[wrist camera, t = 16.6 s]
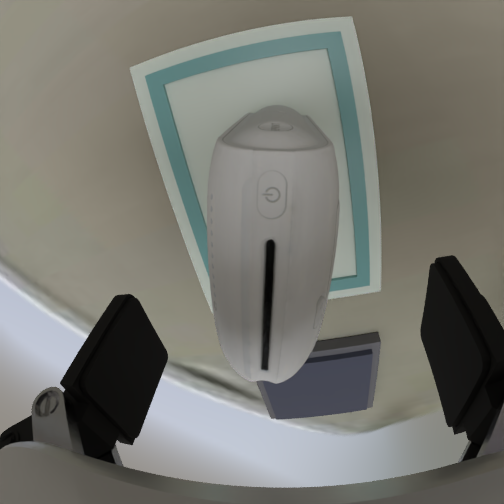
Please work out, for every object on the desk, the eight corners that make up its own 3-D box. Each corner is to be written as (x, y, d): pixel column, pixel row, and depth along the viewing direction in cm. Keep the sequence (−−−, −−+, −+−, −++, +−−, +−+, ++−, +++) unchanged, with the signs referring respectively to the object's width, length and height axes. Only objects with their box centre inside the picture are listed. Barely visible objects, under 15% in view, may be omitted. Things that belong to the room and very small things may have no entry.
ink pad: (378, 332, 26) (382, 346, 24) (370, 398, 32) (372, 411, 30) (248, 348, 28) (247, 363, 26) (271, 410, 34) (270, 422, 32)
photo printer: (241, 102, 17) (175, 140, 6) (313, 105, 17) (371, 147, 6) (242, 250, 22) (209, 403, 12) (302, 253, 22) (313, 410, 11)
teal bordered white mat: (351, 16, 13) (353, 15, 13) (380, 289, 23) (381, 293, 23) (130, 67, 16) (127, 67, 16) (212, 311, 26) (211, 315, 26)
